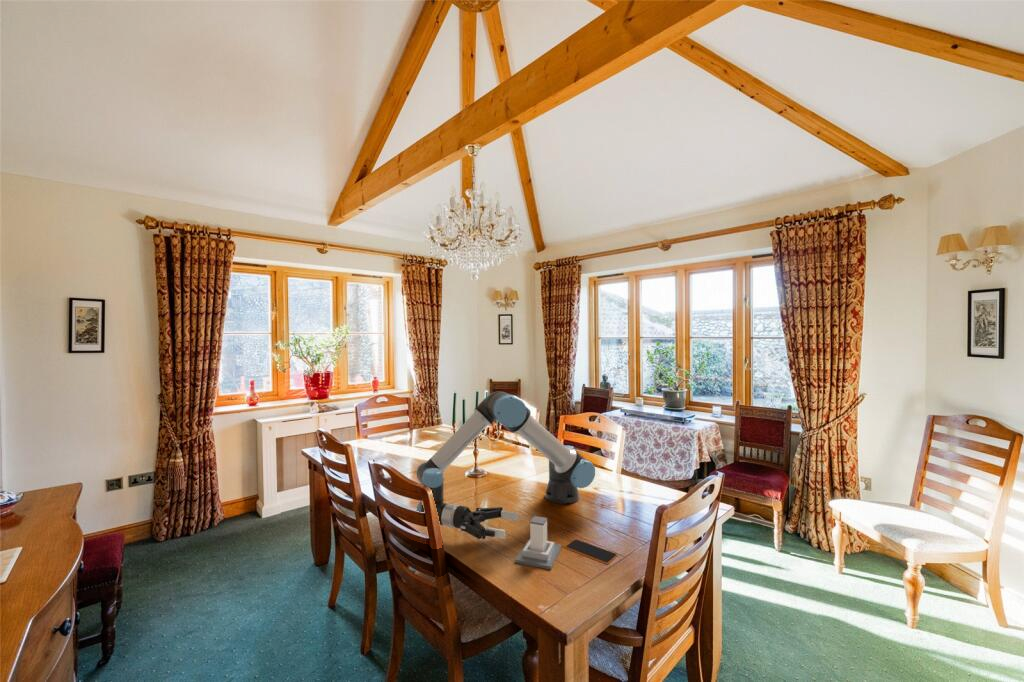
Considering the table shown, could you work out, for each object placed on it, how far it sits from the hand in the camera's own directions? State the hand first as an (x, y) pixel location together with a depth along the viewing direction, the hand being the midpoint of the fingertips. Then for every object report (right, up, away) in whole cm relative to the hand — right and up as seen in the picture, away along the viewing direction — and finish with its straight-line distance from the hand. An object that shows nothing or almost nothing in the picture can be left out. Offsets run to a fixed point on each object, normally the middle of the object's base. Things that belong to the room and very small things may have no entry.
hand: (512, 525), depth 143 cm
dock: (+9, -8, -3) cm, 13 cm away
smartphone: (+27, -9, -1) cm, 28 cm away
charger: (+9, -7, -3) cm, 12 cm away
